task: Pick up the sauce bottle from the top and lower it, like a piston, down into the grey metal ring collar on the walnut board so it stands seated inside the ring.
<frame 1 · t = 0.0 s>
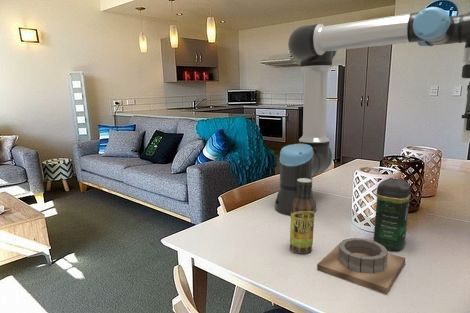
coffee jar: (389, 244, 92), on the table
sauce bottle: (301, 250, 89), on the table
ring collar: (361, 266, 80), on the table
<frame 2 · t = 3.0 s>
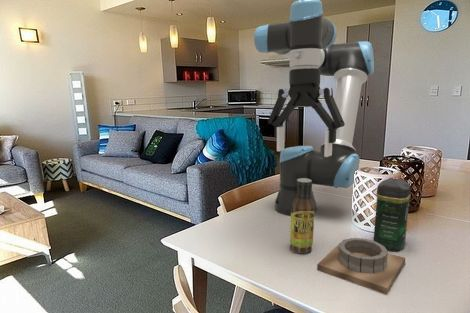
hand: (303, 153, 84), 27 cm above the table, tool pointing down, fingers open, 13 cm apart
nothing on the table moved.
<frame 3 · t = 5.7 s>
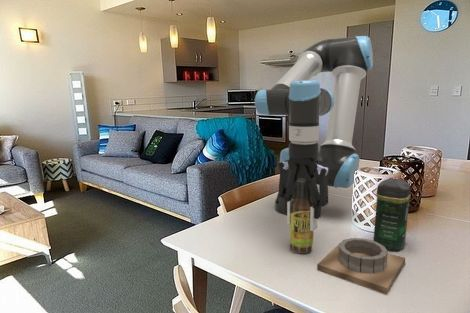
hand: (301, 225, 88), 7 cm above the table, tool pointing down, fingers closed on sauce bottle, 6 cm apart
sauce bottle: (301, 250, 89), on the table, touching gripper
everything else where it was.
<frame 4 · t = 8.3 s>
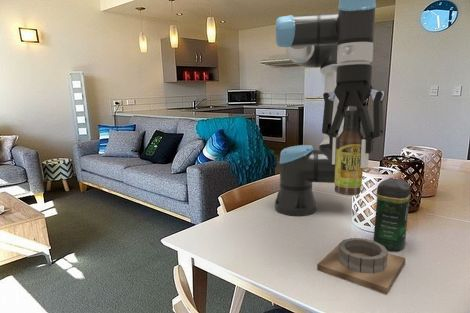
hand: (349, 165, 77), 25 cm above the table, tool pointing down, fingers closed on sauce bottle, 6 cm apart
sauce bottle: (347, 193, 78), point 18 cm above the table, touching gripper
everything else where it was.
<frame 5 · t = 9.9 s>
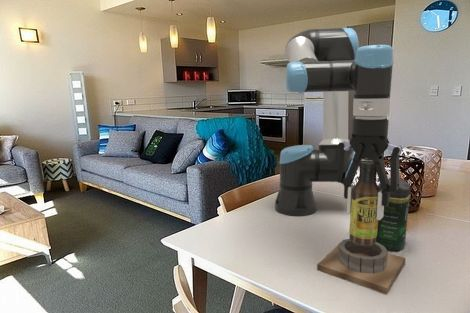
hand: (364, 214, 77), 14 cm above the table, tool pointing down, fingers closed on sauce bottle, 6 cm apart
sauce bottle: (362, 242, 79), point 6 cm above the table, touching gripper
everything else where it was.
when the fingers open (9 cm above the table, at t = 11.2 s): sauce bottle stays where it is, resting on ring collar.
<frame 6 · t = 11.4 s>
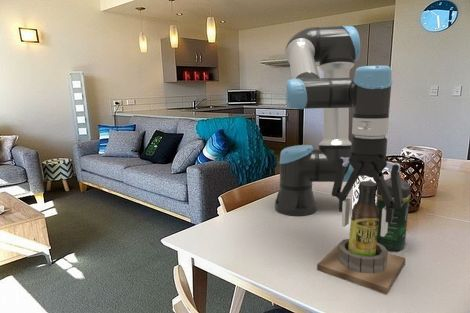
hand: (363, 229, 78), 10 cm above the table, tool pointing down, fingers open, 8 cm apart
sauce bottle: (361, 261, 80), point 1 cm above the table, touching ring collar
everything else where it was.
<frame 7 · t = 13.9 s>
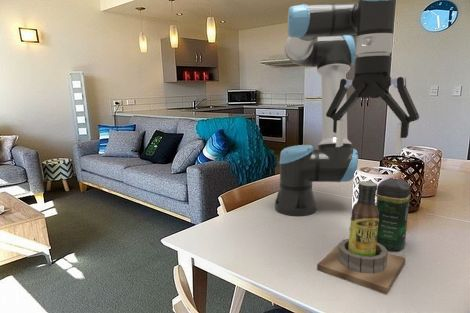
hand: (367, 149, 77), 29 cm above the table, tool pointing down, fingers open, 13 cm apart
nothing on the table moved.
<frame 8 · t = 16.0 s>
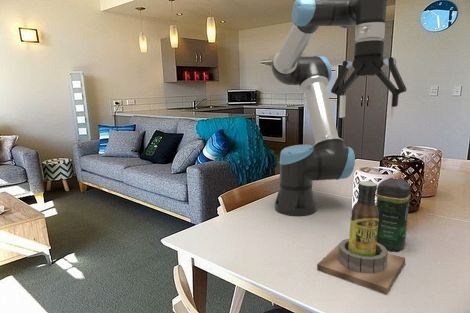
hand: (364, 118, 94), 35 cm above the table, tool pointing down, fingers open, 13 cm apart
nothing on the table moved.
at the end: sauce bottle 0.1 cm off-centre on the ring collar, point 1.3 cm above the ring collar's base; sauce bottle tilted 0°; the gripper is holding nothing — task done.
